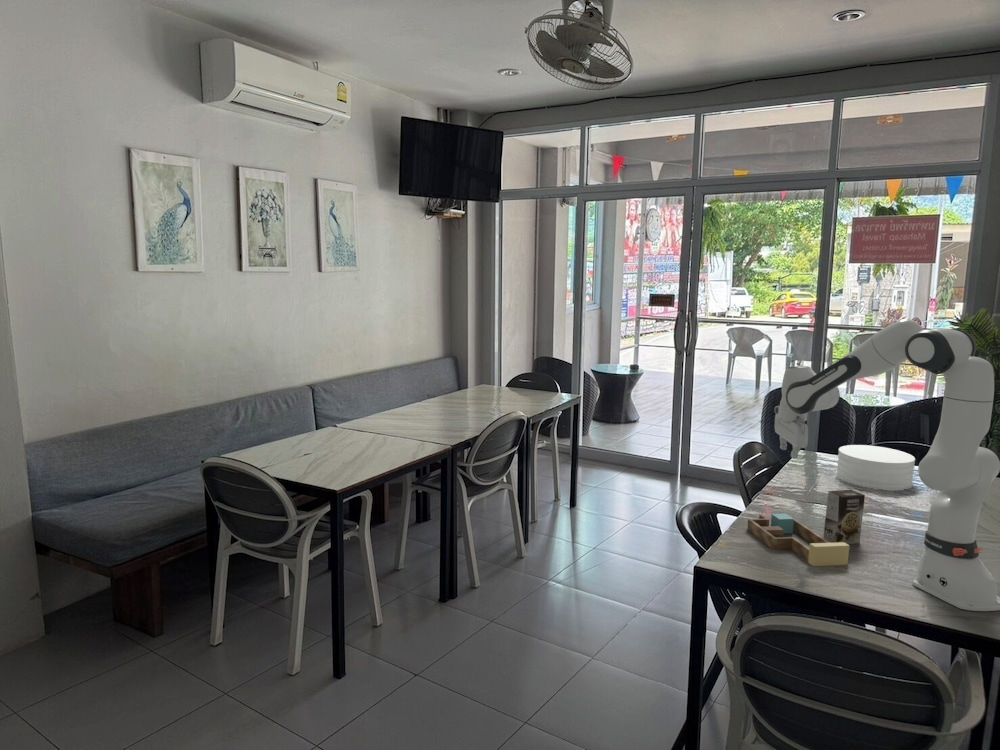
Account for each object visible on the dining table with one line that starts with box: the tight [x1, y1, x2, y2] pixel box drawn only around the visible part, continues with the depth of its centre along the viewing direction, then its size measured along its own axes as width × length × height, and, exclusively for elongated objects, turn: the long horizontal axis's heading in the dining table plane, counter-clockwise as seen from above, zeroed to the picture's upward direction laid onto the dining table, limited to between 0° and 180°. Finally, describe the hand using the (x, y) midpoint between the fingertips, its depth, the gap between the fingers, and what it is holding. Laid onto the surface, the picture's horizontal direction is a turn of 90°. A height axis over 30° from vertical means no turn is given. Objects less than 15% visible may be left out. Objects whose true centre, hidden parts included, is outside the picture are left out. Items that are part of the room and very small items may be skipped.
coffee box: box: [822, 489, 866, 545], centre depth 223 cm, size 9×6×16 cm
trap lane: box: [746, 513, 831, 562], centre depth 222 cm, size 31×16×4 cm, turn 7°
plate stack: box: [835, 444, 916, 491], centre depth 290 cm, size 28×28×12 cm
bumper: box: [807, 542, 850, 567], centre depth 206 cm, size 2×11×6 cm, turn 97°
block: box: [770, 513, 795, 534], centre depth 231 cm, size 5×5×5 cm
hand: (788, 453), depth 234 cm, fingers open, 8 cm apart
